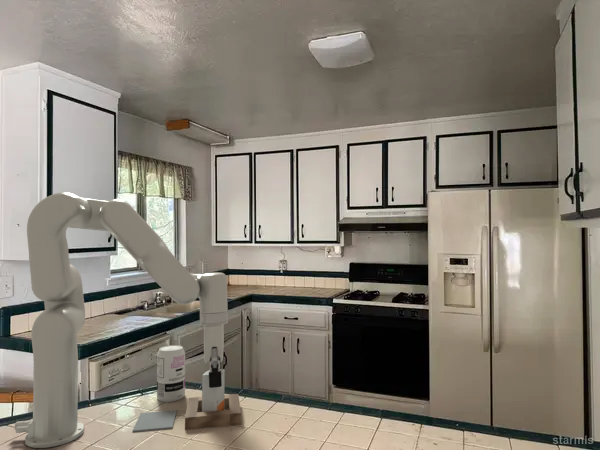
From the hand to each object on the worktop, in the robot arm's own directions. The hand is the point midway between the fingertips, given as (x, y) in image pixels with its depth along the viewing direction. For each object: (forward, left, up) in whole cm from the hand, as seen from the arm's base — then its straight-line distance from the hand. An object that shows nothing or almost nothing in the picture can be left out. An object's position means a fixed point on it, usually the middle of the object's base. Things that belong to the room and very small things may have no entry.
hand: (215, 380), depth 115 cm
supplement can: (-14, +17, -10) cm, 24 cm away
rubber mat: (-16, 0, -9) cm, 18 cm away
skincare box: (-1, 0, -10) cm, 10 cm away
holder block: (-1, 0, -9) cm, 9 cm away
